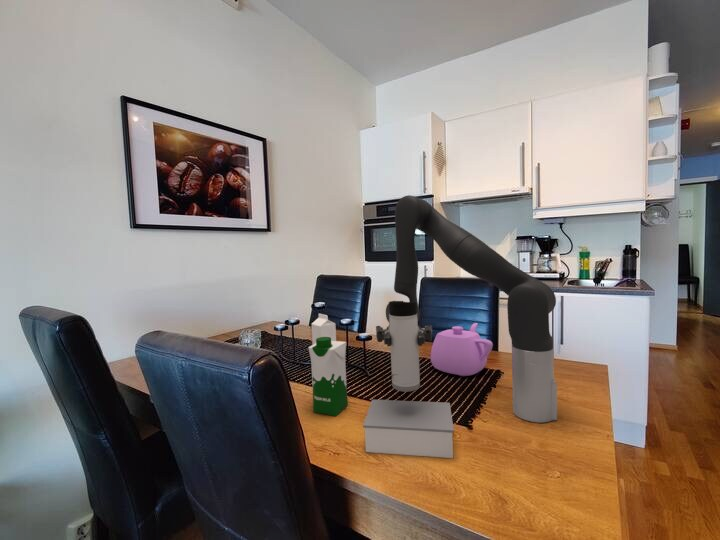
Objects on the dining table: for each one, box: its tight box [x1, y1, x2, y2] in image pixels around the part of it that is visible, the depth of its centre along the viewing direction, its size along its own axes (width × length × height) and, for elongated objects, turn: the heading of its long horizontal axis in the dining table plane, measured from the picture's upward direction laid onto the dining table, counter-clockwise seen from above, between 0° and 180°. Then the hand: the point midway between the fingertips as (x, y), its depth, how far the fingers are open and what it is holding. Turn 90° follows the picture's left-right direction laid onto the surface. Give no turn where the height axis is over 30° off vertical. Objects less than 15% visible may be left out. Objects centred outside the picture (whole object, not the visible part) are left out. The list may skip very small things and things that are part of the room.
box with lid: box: [362, 399, 455, 459], centre depth 77 cm, size 19×13×6 cm
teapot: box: [430, 322, 494, 377], centre depth 120 cm, size 23×21×15 cm
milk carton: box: [308, 337, 349, 417], centre depth 94 cm, size 9×9×20 cm
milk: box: [311, 313, 337, 345], centre depth 117 cm, size 6×6×22 cm
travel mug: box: [388, 300, 421, 393], centre depth 77 cm, size 6×7×20 cm
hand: (404, 341), depth 75 cm, fingers closed on travel mug, 6 cm apart
